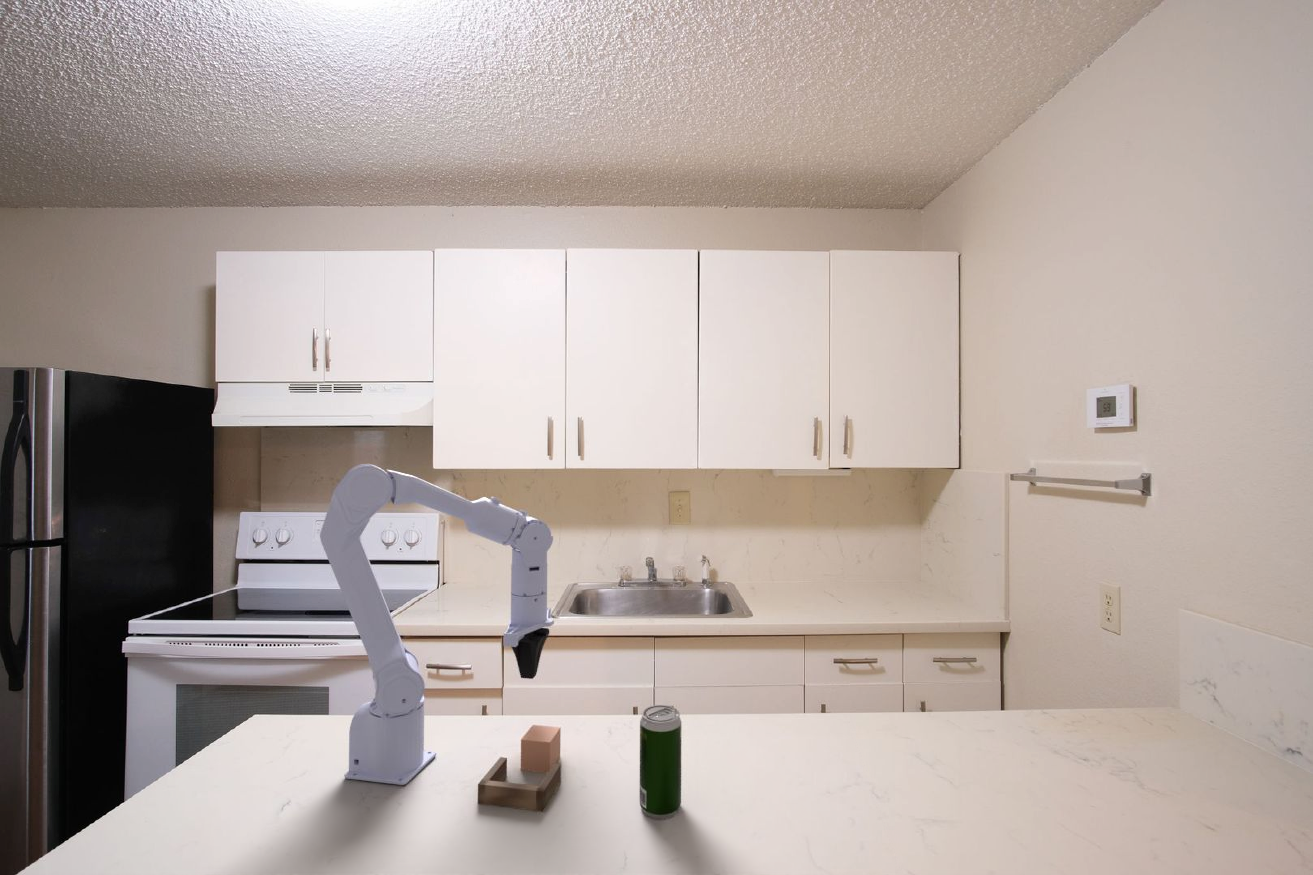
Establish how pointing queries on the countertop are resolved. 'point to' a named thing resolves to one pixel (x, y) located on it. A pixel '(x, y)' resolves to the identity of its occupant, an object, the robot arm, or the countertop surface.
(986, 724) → the countertop surface
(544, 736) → the terracotta block
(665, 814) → the beer can
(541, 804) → the walnut bay
